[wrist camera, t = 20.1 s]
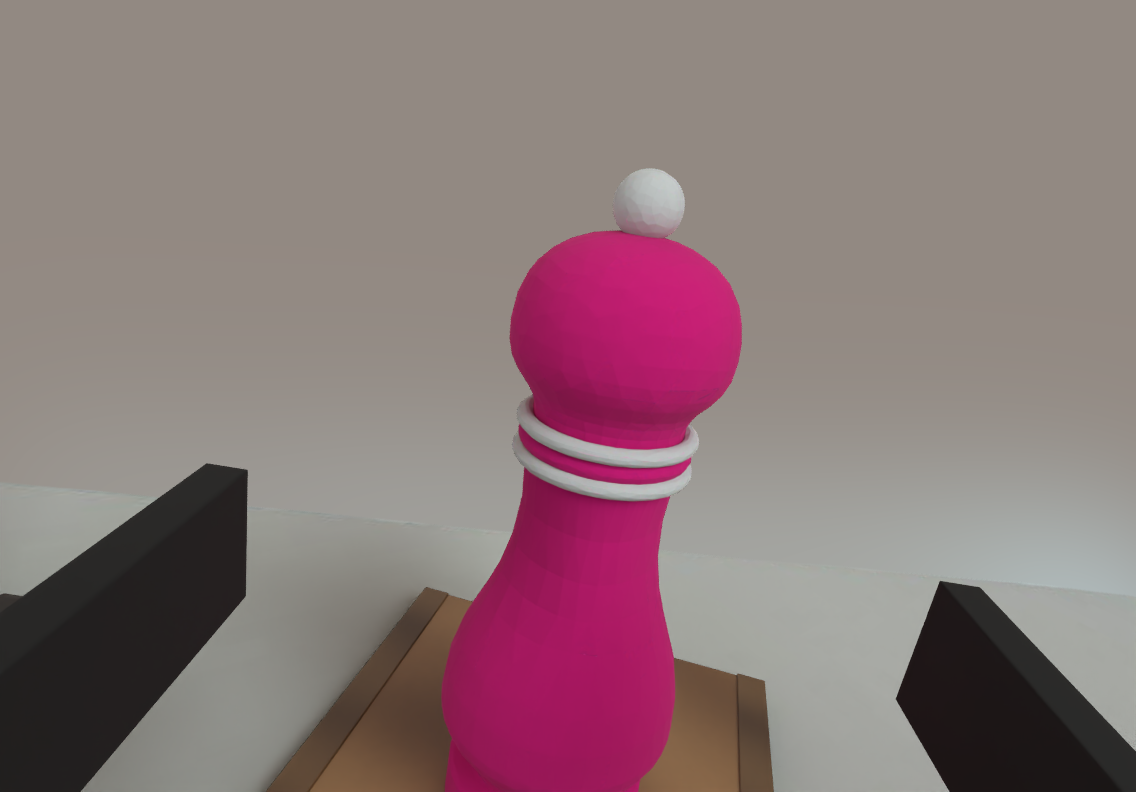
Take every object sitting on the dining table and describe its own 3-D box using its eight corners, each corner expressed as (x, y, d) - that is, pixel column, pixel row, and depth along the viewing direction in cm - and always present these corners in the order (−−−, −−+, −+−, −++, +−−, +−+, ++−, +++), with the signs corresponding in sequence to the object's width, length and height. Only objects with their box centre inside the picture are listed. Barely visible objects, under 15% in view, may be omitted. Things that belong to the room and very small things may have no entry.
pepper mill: (536, 962, 18) (701, 166, 12) (383, 779, 22) (446, 133, 16) (687, 807, 23) (854, 202, 17) (539, 684, 27) (630, 170, 21)
